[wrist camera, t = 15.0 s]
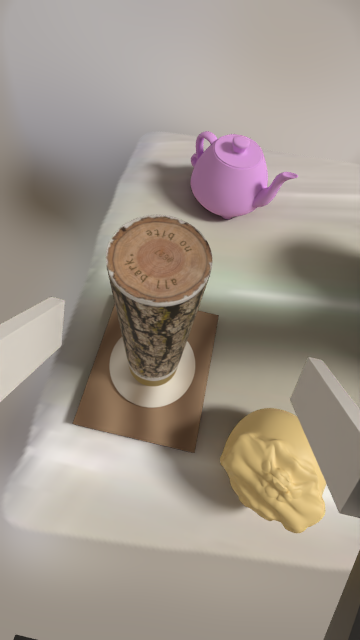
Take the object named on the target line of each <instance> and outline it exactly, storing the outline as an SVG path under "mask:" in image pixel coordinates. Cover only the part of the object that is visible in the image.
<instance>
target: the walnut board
mask: <svg viewBox="0 0 360 640" xmlns="http://www.w3.org/2000/svg"><path fill="white" fill-rule="evenodd" d="M218 317H219V315H215V314H210V313H206V312H202V311H197V314H196V316H195V319H194V322H193V325H192V328H191V331H190V334H189V337H188V339H187V342H186V345H185V348H184V351H183V354H182V357H181V359H180V362H179V365H178V368H177V370H176V373H175V375H174V376H173V377H172V378H171V379H170V380H169V381H168V382H167V383H165V384H163V385H160V386H146V385H143V384H141V383H140V382H138V381H137V380H136V379H135V378H134V377H133V375H132V374H131V372H130V369H129V364H128V361H127V356H126V351H125V347H124V342H123V338H122V333H121V329H120V324H119V320H118V315H117V311H116V306H115V305H114V307H113V310H112V313H111V316H110V319H109V322H108V325H107V327H106V330H105V333H104V336H103V339H102V342H101V344H100V347H99V350H98V353H97V356H96V359H95V361H94V364H93V367H92V370H91V373H90V376H89V378H88V381H87V384H86V387H85V390H84V393H83V395H82V398H81V401H80V404H79V407H78V410H77V412H76V415H75V418H74V421H73V424H75V425H79V426H83V427H87V428H91V429H96V430H100V431H104V432H108V433H112V434H117V435H121V436H125V437H129V438H133V439H138V440H142V441H146V442H150V443H154V444H159V445H163V446H167V447H171V448H175V449H180V450H184V451H188V452H192V453H194V452H195V447H196V441H197V435H198V430H199V424H200V418H201V413H202V407H203V402H204V396H205V390H206V385H207V379H208V373H209V368H210V362H211V356H212V351H213V345H214V339H215V334H216V328H217V322H218Z"/></svg>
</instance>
